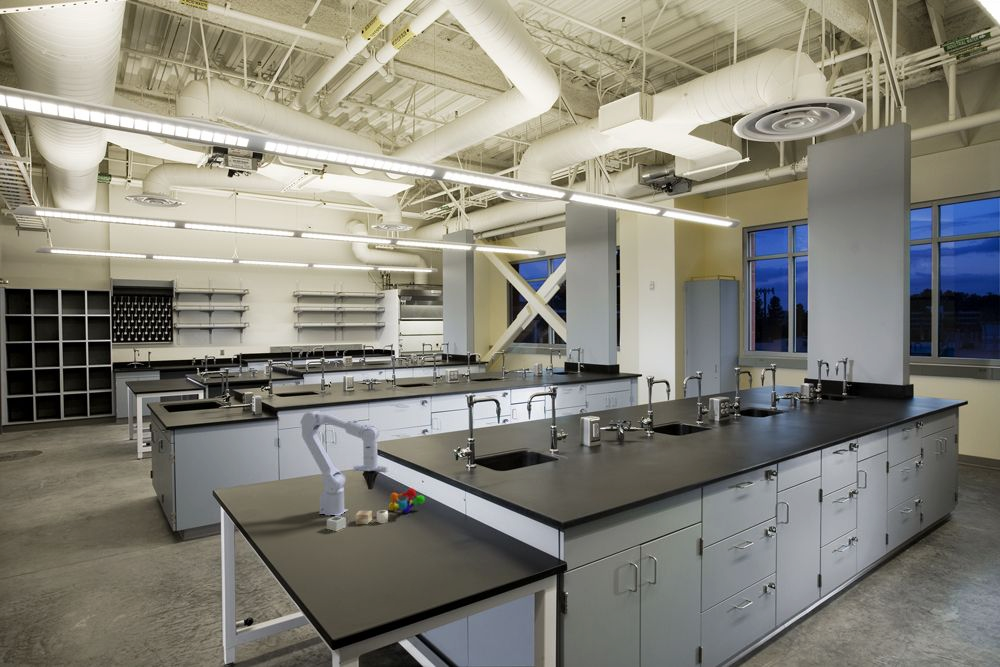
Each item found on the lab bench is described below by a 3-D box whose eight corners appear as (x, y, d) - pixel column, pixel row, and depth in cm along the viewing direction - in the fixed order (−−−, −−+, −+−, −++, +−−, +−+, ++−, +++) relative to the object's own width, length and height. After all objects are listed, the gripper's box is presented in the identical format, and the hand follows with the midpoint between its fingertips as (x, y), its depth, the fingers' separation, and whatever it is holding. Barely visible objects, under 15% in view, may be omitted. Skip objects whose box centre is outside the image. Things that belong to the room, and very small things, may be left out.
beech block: (355, 524, 218) (355, 514, 218) (359, 520, 222) (359, 510, 222) (368, 525, 217) (368, 514, 217) (371, 520, 222) (371, 510, 222)
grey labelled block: (326, 530, 212) (326, 519, 212) (336, 526, 216) (336, 515, 216) (336, 532, 209) (336, 521, 209) (346, 528, 214) (345, 517, 214)
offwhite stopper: (374, 523, 219) (374, 512, 219) (379, 519, 223) (379, 509, 223) (385, 524, 218) (385, 513, 218) (389, 520, 222) (389, 510, 222)
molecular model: (383, 521, 231) (403, 512, 221) (378, 498, 233) (397, 489, 224) (412, 513, 242) (432, 504, 232) (406, 491, 245) (426, 482, 235)
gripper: (349, 457, 228) (350, 490, 228) (382, 459, 225) (382, 492, 225) (357, 454, 235) (358, 486, 235) (389, 455, 231) (390, 487, 231)
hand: (370, 488), depth 230 cm, fingers closed
